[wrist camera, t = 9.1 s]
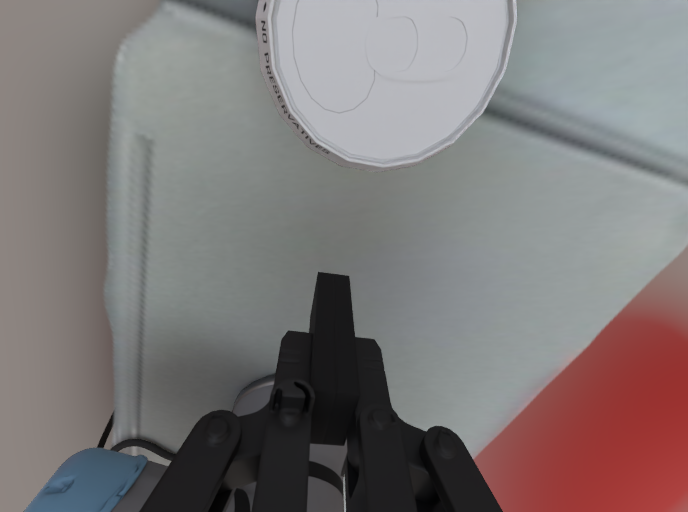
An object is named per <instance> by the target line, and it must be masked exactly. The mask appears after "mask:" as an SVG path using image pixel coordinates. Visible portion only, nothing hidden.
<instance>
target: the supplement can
mask: <svg viewBox="0 0 688 512" xmlns="http://www.w3.org/2000/svg"><path fill="white" fill-rule="evenodd" d="M255 20H256V29H257V38H258V48H259V57H260V66H261V72H262V75H263V77H264V79H265V82H266V84H267V86H268V89H269V91H270V93H271V96H272V98H273V100H274V103H275V105H276V107H277V110H278V112H279V114H280V116H281V117H282V118H283V119H284V120H285V122H286V123H287V124H288V125H289V126H290V127H291V128H292V130H293V131H294V132H295V133H296V134H297V135H298V137H299V138H300V139H301V140H302V141H303V142H304V143H305V145H306V146H307V147H309V148H310V149H312V150H314V151H316V152H317V153H319V154H321V155H322V156H324V157H326V158H328V159H329V160H331V161H333V162H335V163H336V164H338V165H340V166H343V167H349V168H355V169H360V170H366V171H372V172H383V171H388V170H394V169H400V168H405V167H411V166H415V165H417V164H419V163H421V162H422V161H424V160H426V159H428V158H430V157H432V156H433V155H435V154H437V153H439V152H441V151H443V150H444V149H446V148H448V147H450V146H451V145H452V144H453V143H454V142H455V141H456V140H457V139H458V137H459V136H460V135H461V134H462V133H463V132H464V131H465V130H466V129H467V128H468V127H469V126H470V125H471V124H472V123H473V122H474V121H475V120H476V119H477V118H478V117H479V116H480V115H481V114H482V113H483V112H484V110H485V108H486V106H487V104H488V103H489V101H490V99H491V97H492V95H493V93H494V91H495V90H496V88H497V86H498V84H499V82H500V80H501V78H502V77H503V75H504V73H505V71H506V68H507V64H508V59H509V55H510V50H511V46H512V41H513V37H514V32H515V28H516V23H517V8H516V0H259V1H258V7H257V12H256V17H255Z"/></svg>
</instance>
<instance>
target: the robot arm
mask: <svg viewBox="0 0 688 512" xmlns="http://www.w3.org/2000/svg"><path fill="white" fill-rule="evenodd" d="M113 425H114V411H113V413H112V415H111V417H110V419H109V422H108V424H107V426H106V428H105V430H104V432H103V434H102V436H101V439H100V441H99V444H98V446H97V448H89V449H85V450H82V451H80V452H78V453H76V454H74V455H73V456H71V457H70V458H68V459H67V460H66V461H65V462H64V463H63V464H62V465H61V466H60V467H59V468H58V470H57V471H56V472H55V473H54V475H53V476H52V477H51V478H50V479H49V481H48V482H47V483H46V485H45V486H44V487H43V488H42V489H41V491H40V492H39V493H38V494H37V496H36V497H35V498H34V499H33V501H32V502H31V503H30V504H29V505H28V507H27V508H26V509H25V510H24V512H344V499H343V477H344V474H345V491H346V512H503V511H502V509H501V508H500V506H499V504H498V503H497V501H496V499H495V497H494V495H493V494H492V492H491V490H490V488H489V487H488V485H487V483H486V482H485V480H484V478H483V476H482V475H481V473H480V471H479V469H478V468H477V466H476V464H475V462H474V461H473V459H472V457H471V455H470V454H469V452H468V450H467V448H466V447H465V445H464V443H463V442H462V440H461V439H460V438H459V437H458V435H457V434H455V433H454V432H453V431H451V430H450V429H448V428H445V427H443V426H434V427H432V428H429V429H428V431H427V432H426V431H423V430H421V429H418V428H416V427H413V426H411V425H409V424H407V423H405V422H404V421H403V420H401V419H400V418H399V417H398V415H397V414H396V412H395V411H394V410H393V409H392V406H391V403H390V397H389V392H388V386H387V381H386V375H385V371H384V364H383V359H382V353H381V349H380V347H379V346H378V344H377V343H376V341H375V340H374V339H367V338H358V337H355V332H354V322H353V311H352V301H351V290H350V279H349V276H345V275H338V274H330V273H323V272H318V275H317V281H316V287H315V293H314V298H313V304H312V310H311V316H310V328H309V333H306V332H297V331H288V332H287V333H286V334H285V336H284V337H283V338H282V340H281V346H280V352H279V357H278V363H277V369H276V375H271V376H268V377H265V378H262V379H259V380H257V381H255V382H253V383H251V384H250V385H248V386H247V387H246V388H245V389H243V390H242V391H241V393H240V394H239V395H238V397H237V399H236V401H235V404H234V408H233V411H232V412H230V411H226V410H217V411H213V412H210V413H208V414H207V415H205V416H203V417H202V418H201V419H200V420H199V421H198V422H197V423H196V425H195V426H194V428H193V429H192V431H191V432H190V434H189V435H188V437H187V439H186V440H185V442H184V443H183V445H182V446H181V448H180V449H179V451H178V452H177V454H173V453H171V452H169V451H167V450H165V449H163V448H161V447H159V446H158V445H156V444H154V443H151V442H149V441H146V440H142V439H128V440H125V441H122V442H120V443H118V444H117V445H115V446H114V447H113V448H112V449H111V450H107V449H103V448H104V445H105V443H106V441H107V438H108V436H109V434H110V432H111V429H112V427H113ZM130 446H138V447H142V448H145V449H148V450H150V451H152V452H154V453H156V454H157V455H159V456H161V457H163V458H165V459H168V460H171V461H172V462H171V463H170V465H169V466H165V465H161V464H158V463H155V462H152V461H148V460H147V457H145V456H144V455H138V456H132V455H128V454H124V453H120V452H118V451H119V450H121V449H123V448H126V447H130Z"/></svg>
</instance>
